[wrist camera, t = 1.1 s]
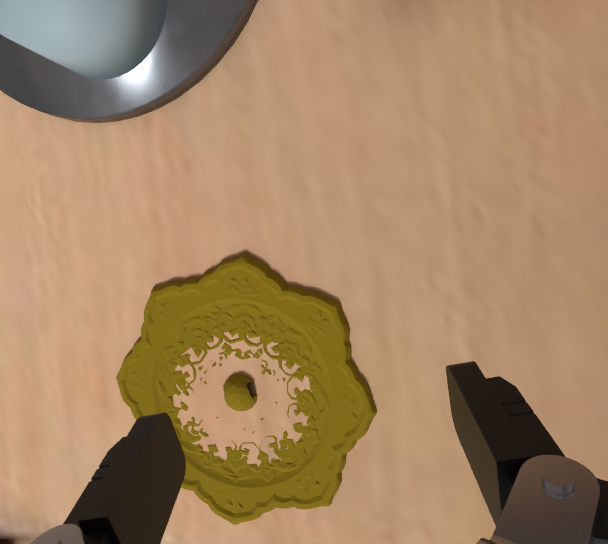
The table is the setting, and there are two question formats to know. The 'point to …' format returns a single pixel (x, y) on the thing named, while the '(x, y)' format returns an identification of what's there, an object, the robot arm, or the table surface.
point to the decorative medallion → (292, 348)
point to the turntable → (138, 82)
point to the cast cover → (86, 32)
